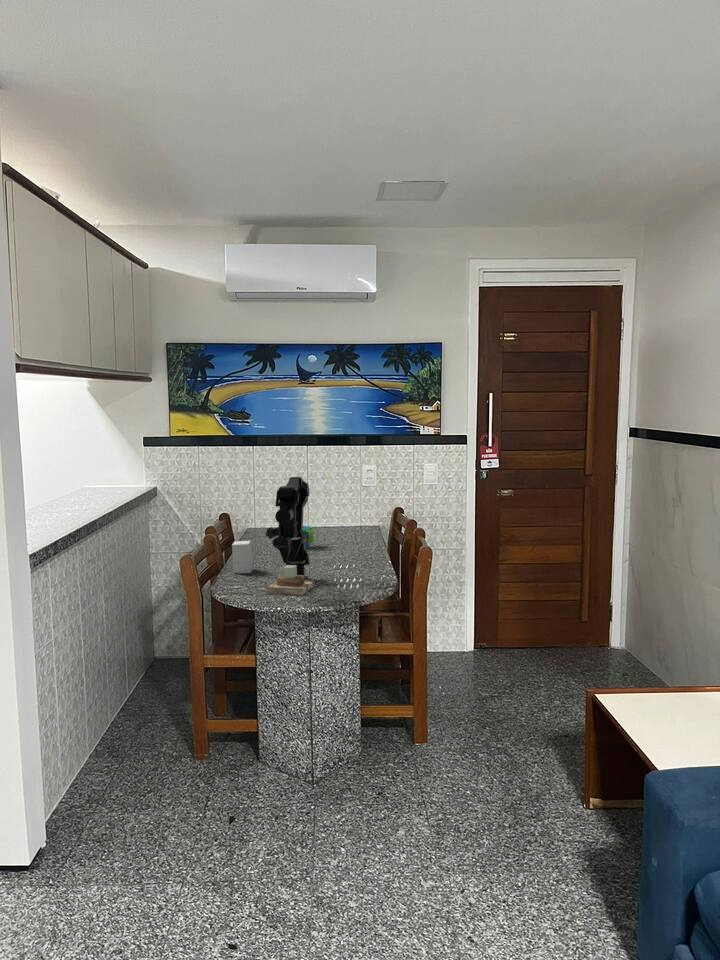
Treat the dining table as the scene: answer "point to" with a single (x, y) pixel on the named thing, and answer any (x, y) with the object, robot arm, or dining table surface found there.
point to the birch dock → (290, 588)
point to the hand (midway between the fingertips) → (289, 560)
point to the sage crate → (290, 571)
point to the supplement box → (242, 556)
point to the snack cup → (307, 536)
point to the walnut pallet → (290, 581)
